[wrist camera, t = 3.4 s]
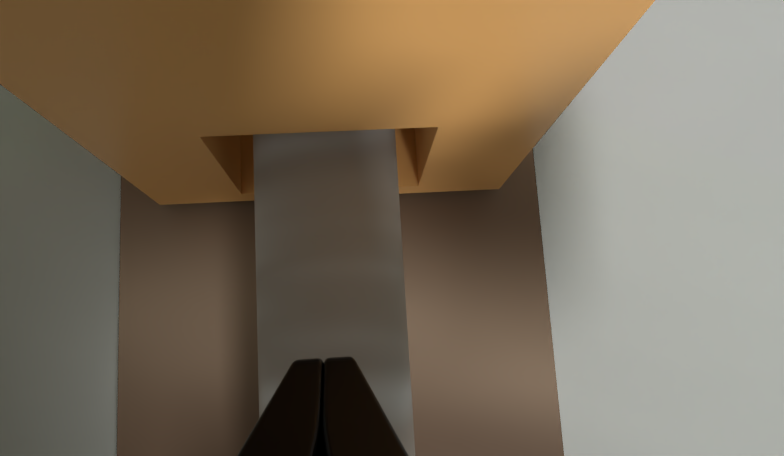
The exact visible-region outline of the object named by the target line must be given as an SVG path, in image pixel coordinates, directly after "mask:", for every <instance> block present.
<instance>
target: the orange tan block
mask: <svg viewBox="0 0 784 456" xmlns="http://www.w3.org/2000/svg"><path fill="white" fill-rule="evenodd" d="M654 1H655V0H0V85H2V86H3V87H4V88H6V89H7V90H8V91H10V92H11V93H12V94H14V95H15V96H16V97H18V98H19V99H20V100H22V101H23V102H24V103H26V104H27V105H28V106H30V107H31V108H32V109H34V110H35V111H36V112H37V113H39V114H40V115H41V116H43V117H44V118H45V119H47V120H48V121H49V122H51V123H52V124H53V125H55V126H56V127H57V128H59V129H60V130H61V131H63V132H64V133H65V134H67V135H68V136H69V137H71V138H72V139H73V140H75V141H76V142H77V143H79V144H80V145H81V146H82V147H84V148H85V149H86V150H88V151H89V152H90V153H92V154H93V155H94V156H96V157H97V158H98V159H100V160H101V161H102V162H104V163H105V164H106V165H108V166H109V167H110V168H112V169H113V170H114V171H116V172H117V173H118V174H120V175H121V176H122V177H124V178H125V179H126V180H127V181H129V182H130V183H131V184H133V185H134V186H135V187H137V188H138V189H139V190H141V191H142V192H143V193H145V194H146V195H147V196H149V197H150V198H151V199H153V200H154V201H155V202H157V203H158V204H159V205H169V204H191V203H212V202H234V201H254V158H253V135H256V134H281V133H305V132H329V131H353V130H377V129H395V138H396V154H397V170H398V186H399V194H404V193H426V192H447V191H468V190H490V189H499V188H500V187H501V186H502V185H503V184H504V182H505V181H506V180H507V179H508V178H509V176H510V175H511V174H512V173H513V172H514V170H515V169H516V168H517V167H518V166H519V164H520V163H521V162H522V161H523V159H524V158H525V157H526V156H527V155H528V153H529V152H530V151H531V150H532V149H533V147H534V146H535V145H536V144H537V143H538V141H539V140H540V139H541V138H542V136H543V135H544V134H545V133H546V132H547V130H548V129H549V128H550V127H551V126H552V124H553V123H554V122H555V121H556V120H557V118H558V117H559V116H560V115H561V113H562V112H563V111H564V110H565V109H566V107H567V106H568V105H569V104H570V103H571V101H572V100H573V99H574V98H575V97H576V95H577V94H578V93H579V92H580V90H581V89H582V88H583V87H584V86H585V84H586V83H587V82H588V81H589V80H590V78H591V77H592V76H593V75H594V74H595V72H596V71H597V70H598V69H599V68H600V66H601V65H602V64H603V63H604V61H605V60H606V59H607V58H608V57H609V55H610V54H611V53H612V52H613V51H614V49H615V48H616V47H617V46H618V45H619V43H620V42H621V41H622V40H623V38H624V37H625V36H626V35H627V34H628V32H629V31H630V30H631V29H632V28H633V26H634V25H635V24H636V23H637V22H638V20H639V19H640V18H641V17H642V15H643V14H644V13H645V12H646V11H647V9H648V8H649V7H650V6H651V5H652V3H653V2H654Z"/></svg>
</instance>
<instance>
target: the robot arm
mask: <svg viewBox="0 0 784 456" xmlns="http://www.w3.org/2000/svg"><path fill="white" fill-rule="evenodd" d="M237 456H409V455H408V453H407V452H406V450H405V448H404V446H403V444H402V443H401V441H400V439H399V437H398V435H397V434H396V432H395V430H394V428H393V427H392V425H391V423H390V421H389V419H388V418H387V416H386V414H385V412H384V410H383V409H382V407H381V405H380V403H379V401H378V400H377V398H376V396H375V394H374V392H373V391H372V389H371V387H370V385H369V383H368V382H367V380H366V378H365V376H364V375H363V373H362V371H361V369H360V367H359V366H358V364H357V362H356V360H355V359H354V358H353V357H350V356H347V357H330V358H327V359H325V361H324V362H323V361H322V359H320V358H314V359H298V360H295V361H294V362H293V363H292V364H291V366H290V367H289V369H288V371H287V372H286V374H285V376H284V377H283V379H282V381H281V382H280V384H279V386H278V387H277V389H276V391H275V393H274V394H273V396H272V398H271V399H270V401H269V403H268V404H267V406H266V408H265V409H264V411H263V413H262V414H261V416H260V418H259V420H258V421H257V423H256V425H255V426H254V428H253V430H252V431H251V433H250V435H249V436H248V438H247V440H246V441H245V443H244V445H243V447H242V448H241V450H240V452H239V453H238V455H237Z"/></svg>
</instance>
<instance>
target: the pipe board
mask: <svg viewBox="0 0 784 456" xmlns="http://www.w3.org/2000/svg"><path fill="white" fill-rule="evenodd" d="M253 158H254V201H234V202H212V203H191V204H169V205H159V204H158V203H157V202H155V201H154V200H153V199H151V198H150V197H149V196H147V195H146V194H145V193H143V192H142V191H141V190H139V189H138V188H137V187H135V186H134V185H133V184H131V183H130V182H129V181H127V180H126V179H125V178H124V177H122V176H121V217H120V282H119V346H118V410H117V456H237V455H238V453H239V452H240V450H241V448H242V447H243V445H244V443H245V441H246V440H247V438H248V436H249V435H250V433H251V431H252V430H253V428H254V426H255V425H256V423H257V421H258V420H259V418H260V416H261V414H262V413H263V411H264V409H265V408H266V406H267V404H268V403H269V401H270V399H271V398H272V396H273V394H274V393H275V391H276V389H277V387H278V386H279V384H280V382H281V381H282V379H283V377H284V376H285V374H286V372H287V371H288V369H289V367H290V366H291V364H292V363H293V362H294V361H295V360H298V359H314V358H320V359H322V361H323V362H324V361H325V359H327V358H330V357H347V356H350V357H353V358H354V359H355V360H356V362H357V364H358V366H359V367H360V369H361V371H362V373H363V375H364V376H365V378H366V380H367V382H368V383H369V385H370V387H371V389H372V391H373V392H374V394H375V396H376V398H377V400H378V401H379V403H380V405H381V407H382V409H383V410H384V412H385V414H386V416H387V418H388V419H389V421H390V423H391V425H392V427H393V428H394V430H395V432H396V434H397V435H398V437H399V439H400V441H401V443H402V444H403V446H404V448H405V450H406V452H407V453H408V455H409V456H564V451H563V441H562V432H561V422H560V412H559V402H558V392H557V382H556V373H555V363H554V353H553V343H552V333H551V323H550V314H549V304H548V294H547V284H546V274H545V264H544V255H543V245H542V235H541V225H540V215H539V205H538V196H537V186H536V176H535V166H534V156H533V149H532V150H531V151H530V152H529V153H528V155H527V156H526V157H525V158H524V159H523V161H522V162H521V163H520V164H519V166H518V167H517V168H516V169H515V170H514V172H513V173H512V174H511V175H510V176H509V178H508V179H507V180H506V181H505V182H504V184H503V185H502V186H501V187H500V188H499V189H490V190H468V191H447V192H426V193H404V194H399V186H398V170H397V154H396V138H395V129H377V130H353V131H329V132H305V133H281V134H256V135H253Z"/></svg>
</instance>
